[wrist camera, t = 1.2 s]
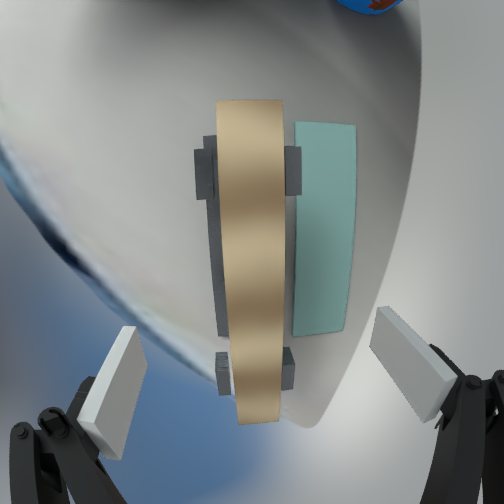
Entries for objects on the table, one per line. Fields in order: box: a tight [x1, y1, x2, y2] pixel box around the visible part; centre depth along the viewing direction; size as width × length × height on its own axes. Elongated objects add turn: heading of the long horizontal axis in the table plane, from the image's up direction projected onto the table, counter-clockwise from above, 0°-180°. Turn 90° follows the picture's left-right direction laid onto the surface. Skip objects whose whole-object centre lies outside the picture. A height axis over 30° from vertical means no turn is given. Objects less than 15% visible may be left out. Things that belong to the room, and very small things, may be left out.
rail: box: [216, 100, 285, 425], centre depth 19 cm, size 24×4×4 cm, turn 2°
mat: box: [292, 121, 356, 337], centre depth 31 cm, size 26×7×1 cm, turn 2°
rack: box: [194, 135, 302, 395], centre depth 24 cm, size 23×7×13 cm, turn 2°
